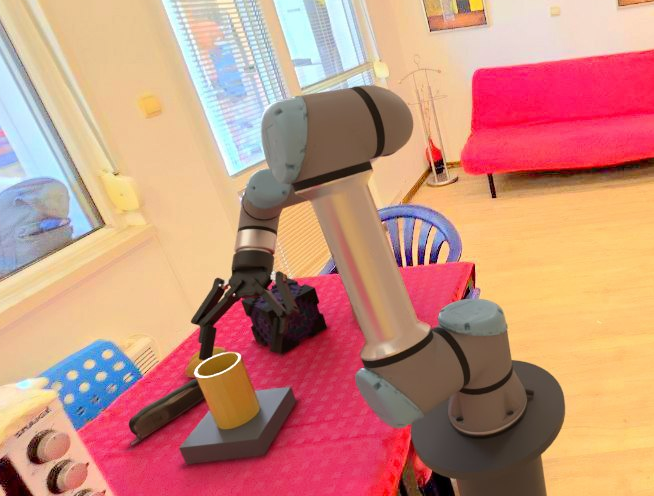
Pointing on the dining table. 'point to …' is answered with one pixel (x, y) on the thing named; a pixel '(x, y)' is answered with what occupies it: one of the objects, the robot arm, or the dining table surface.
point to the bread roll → (200, 361)
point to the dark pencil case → (165, 410)
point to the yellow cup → (227, 390)
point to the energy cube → (298, 325)
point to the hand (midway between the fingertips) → (240, 356)
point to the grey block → (240, 431)
